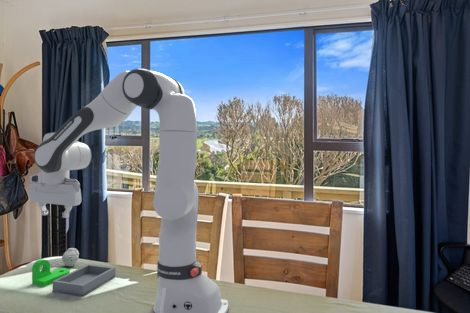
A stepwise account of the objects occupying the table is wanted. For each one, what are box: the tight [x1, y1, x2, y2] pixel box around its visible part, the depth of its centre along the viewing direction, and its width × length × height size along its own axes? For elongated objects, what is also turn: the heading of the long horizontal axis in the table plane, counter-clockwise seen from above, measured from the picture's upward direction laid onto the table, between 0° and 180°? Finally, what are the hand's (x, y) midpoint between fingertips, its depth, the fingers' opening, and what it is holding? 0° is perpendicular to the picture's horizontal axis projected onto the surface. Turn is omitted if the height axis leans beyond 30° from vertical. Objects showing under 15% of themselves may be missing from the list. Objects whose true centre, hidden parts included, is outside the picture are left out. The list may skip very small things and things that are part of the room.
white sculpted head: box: [61, 247, 80, 267], centre depth 137 cm, size 6×7×7 cm
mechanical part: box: [31, 258, 71, 288], centre depth 124 cm, size 12×6×8 cm, turn 156°
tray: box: [52, 263, 116, 297], centre depth 120 cm, size 12×17×4 cm
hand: (55, 216), depth 122 cm, fingers open, 8 cm apart
